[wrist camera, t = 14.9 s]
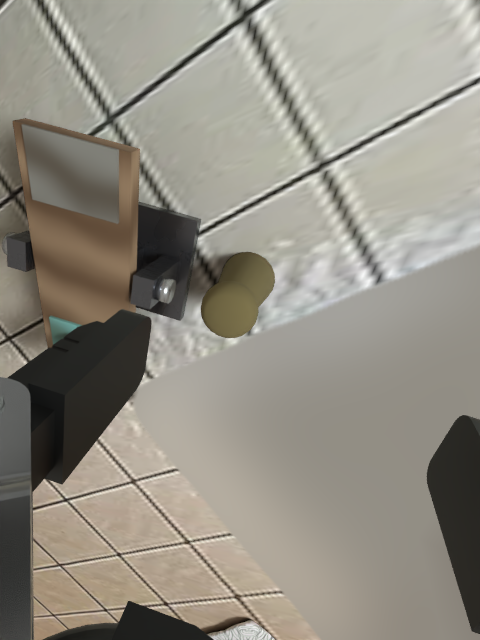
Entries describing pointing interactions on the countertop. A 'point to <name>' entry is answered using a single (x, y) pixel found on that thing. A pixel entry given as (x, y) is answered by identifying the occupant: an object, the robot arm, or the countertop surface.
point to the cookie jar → (242, 632)
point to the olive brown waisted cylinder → (238, 295)
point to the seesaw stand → (142, 259)
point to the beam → (79, 223)
